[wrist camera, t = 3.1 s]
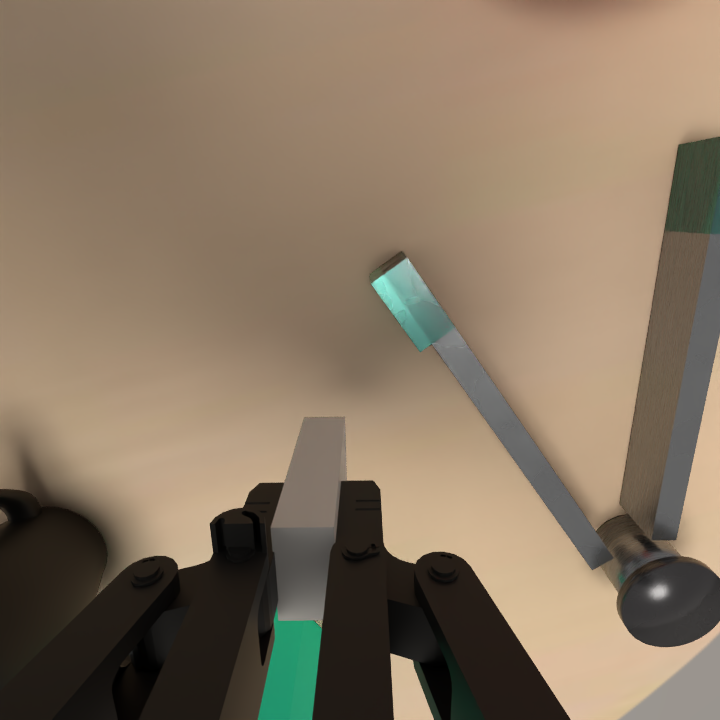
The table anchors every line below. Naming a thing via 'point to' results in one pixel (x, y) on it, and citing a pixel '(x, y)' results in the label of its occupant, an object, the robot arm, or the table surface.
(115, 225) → the table surface
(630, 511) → the tongs fixed
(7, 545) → the mug
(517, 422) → the bar
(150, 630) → the robot arm
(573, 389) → the table surface
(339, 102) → the table surface
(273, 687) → the candle
